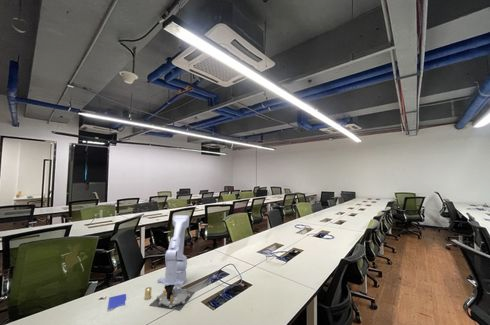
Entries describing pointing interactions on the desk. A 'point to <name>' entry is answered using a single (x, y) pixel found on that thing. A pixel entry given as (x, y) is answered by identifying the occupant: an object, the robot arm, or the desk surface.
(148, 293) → the roller
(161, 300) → the tabbed metal disc
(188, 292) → the base plate
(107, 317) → the desk surface
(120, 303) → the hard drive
